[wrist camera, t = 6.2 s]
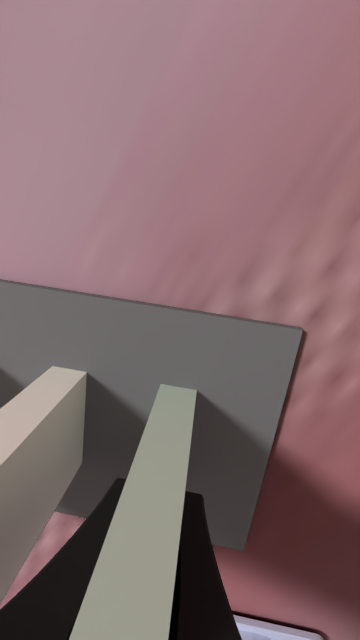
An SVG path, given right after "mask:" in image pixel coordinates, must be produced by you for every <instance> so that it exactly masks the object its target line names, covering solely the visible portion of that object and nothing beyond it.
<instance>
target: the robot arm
mask: <svg viewBox="0 0 360 640" xmlns="http://www.w3.org/2000/svg"><path fill="white" fill-rule="evenodd" d="M125 482H126V479H123V478H117V479H115V480H114V482H113V484H112V485H111V487H110V488H109V490H108V491H107V493H106V494H105V495H104V497H103V498H102V500H101V501H100V502H99V504H98V505H97V506H96V508H95V509H94V510H93V511H92V513H91V514H90V515H89V516H88V518H87V519H86V520H85V521H84V523H83V524H82V525H81V526H80V527H79V529H78V530H77V531H76V532H75V534H74V535H73V536H72V537H71V538H70V539H69V540H68V542H67V543H66V544H65V545H64V546H63V547H62V548H61V549H60V550H59V552H58V553H57V554H56V555H55V556H54V557H53V558H52V559H51V560H50V561H49V563H48V564H47V565H46V566H45V567H44V568H43V569H42V570H41V571H40V572H39V573H38V574H37V575H36V576H35V577H34V578H33V579H32V580H31V581H30V582H29V583H28V584H27V585H26V586H25V587H24V588H23V589H22V590H21V591H20V592H19V593H18V594H17V595H16V596H15V597H13V598H12V599H11V600H10V601H9V602H8V603H7V604H6V605H5V606H4V607H3V608H2V609H0V640H69V638H70V636H71V633H72V630H73V627H74V624H75V622H76V619H77V616H78V613H79V610H80V608H81V605H82V602H83V599H84V597H85V594H86V591H87V588H88V585H89V583H90V580H91V577H92V574H93V571H94V569H95V566H96V563H97V560H98V558H99V555H100V552H101V549H102V546H103V544H104V541H105V538H106V535H107V532H108V530H109V527H110V524H111V521H112V519H113V516H114V513H115V510H116V507H117V505H118V502H119V499H120V496H121V493H122V491H123V488H124V485H125ZM168 640H323V638H322V637H321V636H320V635H319V634H316V633H312V632H308V631H303V630H299V629H295V628H290V627H286V626H281V625H277V624H272V623H268V622H264V621H259V620H255V619H250V618H246V617H242V616H237V615H233V613H232V611H231V608H230V605H229V602H228V599H227V595H226V592H225V589H224V586H223V583H222V580H221V576H220V573H219V569H218V566H217V562H216V558H215V555H214V551H213V547H212V543H211V539H210V534H209V530H208V525H207V520H206V514H205V507H204V497H203V496H202V495H201V494H198V493H193V492H188V491H185V497H184V506H183V515H182V524H181V532H180V541H179V550H178V558H177V567H176V576H175V585H174V593H173V602H172V611H171V620H170V628H169V637H168Z"/></svg>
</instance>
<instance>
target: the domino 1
mask: <svg viewBox="0 0 360 640" xmlns="http://www.w3.org/2000/svg"><path fill="white" fill-rule="evenodd" d="M86 378H87V372H83V371H78V370H72V369H67V368H61V367H55V366H52V367H51V368H50V369H48V370H47V371H46V372H45V373H43V374H42V375H41V376H40V377H39V378H37V379H36V380H35V381H34V382H32V383H31V384H30V385H29V386H28V387H26V388H25V389H24V390H23V391H21V392H20V393H19V394H18V395H17V396H15V397H14V398H13V399H12V400H10V401H9V402H8V403H7V404H6V405H4V406H3V407H2V408H1V409H0V604H1V602H2V601H3V599H4V597H5V595H6V594H7V592H8V590H9V588H10V587H11V585H12V583H13V582H14V580H15V578H16V576H17V575H18V573H19V571H20V569H21V568H22V566H23V564H24V562H25V561H26V559H27V557H28V556H29V554H30V552H31V550H32V549H33V547H34V545H35V543H36V542H37V540H38V538H39V537H40V535H41V533H42V531H43V530H44V528H45V526H46V524H47V523H48V521H49V519H50V518H51V516H52V514H53V512H54V511H55V509H56V507H57V505H58V504H59V502H60V500H61V498H62V497H63V495H64V493H65V492H66V490H67V488H68V486H69V485H70V483H71V481H72V479H73V478H74V476H75V474H76V473H77V471H78V469H79V467H80V466H81V464H82V456H83V436H84V417H85V397H86Z"/></svg>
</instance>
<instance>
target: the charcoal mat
mask: <svg viewBox="0 0 360 640" xmlns="http://www.w3.org/2000/svg"><path fill="white" fill-rule="evenodd" d="M302 332H303V330H302V329H301V328H300V327H295V326H289V325H282V324H276V323H270V322H264V321H257V320H251V319H245V318H239V317H232V316H226V315H220V314H214V313H207V312H201V311H195V310H189V309H182V308H176V307H170V306H164V305H157V304H151V303H145V302H139V301H133V300H126V299H120V298H114V297H108V296H101V295H95V294H89V293H83V292H76V291H70V290H64V289H58V288H51V287H45V286H39V285H33V284H26V283H20V282H14V281H8V280H1V279H0V409H1V408H2V407H3V406H4V405H6V404H7V403H8V402H9V401H10V400H12V399H13V398H14V397H15V396H17V395H18V394H19V393H20V392H21V391H23V390H24V389H25V388H26V387H28V386H29V385H30V384H31V383H32V382H34V381H35V380H36V379H37V378H39V377H40V376H41V375H42V374H43V373H45V372H46V371H47V370H48V369H50V368H51V367H52V366H55V367H61V368H67V369H72V370H78V371H83V372H87V378H86V397H85V417H84V436H83V456H82V464H81V466H80V467H79V469H78V471H77V473H76V474H75V476H74V478H73V479H72V481H71V483H70V485H69V486H68V488H67V490H66V492H65V493H64V495H63V497H62V498H61V500H60V502H59V504H58V505H57V507H56V509H55V511H56V512H60V513H65V514H70V515H75V516H79V517H84V518H88V516H89V515H90V514H91V513H92V511H93V510H94V509H95V508H96V506H97V505H98V504H99V502H100V501H101V500H102V498H103V497H104V495H105V494H106V493H107V491H108V490H109V488H110V487H111V485H112V484H113V482H114V480H115V479H117V478H123V479H127V477H128V474H129V471H130V468H131V466H132V463H133V460H134V457H135V454H136V452H137V449H138V446H139V443H140V440H141V438H142V435H143V432H144V429H145V427H146V424H147V421H148V418H149V415H150V413H151V410H152V407H153V404H154V401H155V399H156V396H157V393H158V390H159V388H160V385H161V384H164V385H170V386H176V387H181V388H187V389H193V390H197V393H196V401H195V410H194V419H193V427H192V436H191V445H190V454H189V462H188V471H187V480H186V489H185V491H188V492H193V493H198V494H201V495H202V496H203V497H204V507H205V514H206V520H207V525H208V530H209V534H210V539H211V543H212V545H216V546H221V547H226V548H230V549H235V550H240V551H244V548H245V545H246V541H247V537H248V533H249V530H250V526H251V522H252V518H253V515H254V511H255V507H256V504H257V500H258V496H259V492H260V489H261V485H262V481H263V477H264V474H265V470H266V466H267V463H268V459H269V455H270V451H271V448H272V444H273V440H274V436H275V433H276V429H277V425H278V422H279V418H280V414H281V410H282V407H283V403H284V399H285V395H286V392H287V388H288V384H289V381H290V377H291V373H292V369H293V366H294V362H295V358H296V354H297V351H298V347H299V343H300V340H301V336H302Z"/></svg>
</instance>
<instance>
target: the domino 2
mask: <svg viewBox="0 0 360 640" xmlns="http://www.w3.org/2000/svg"><path fill="white" fill-rule="evenodd" d="M196 393H197V390H193V389H187V388H181V387H176V386H170V385H164V384H161V385H160V388H159V390H158V393H157V396H156V399H155V401H154V404H153V407H152V410H151V413H150V415H149V418H148V421H147V424H146V427H145V429H144V432H143V435H142V438H141V440H140V443H139V446H138V449H137V452H136V454H135V457H134V460H133V463H132V466H131V468H130V471H129V474H128V477H127V479H126V482H125V485H124V488H123V491H122V493H121V496H120V499H119V502H118V505H117V507H116V510H115V513H114V516H113V519H112V521H111V524H110V527H109V530H108V532H107V535H106V538H105V541H104V544H103V546H102V549H101V552H100V555H99V558H98V560H97V563H96V566H95V569H94V571H93V574H92V577H91V580H90V583H89V585H88V588H87V591H86V594H85V597H84V599H83V602H82V605H81V608H80V610H79V613H78V616H77V619H76V622H75V624H74V627H73V630H72V633H71V636H70V638H69V640H168V637H169V628H170V620H171V611H172V602H173V593H174V585H175V576H176V567H177V558H178V550H179V541H180V532H181V524H182V515H183V506H184V497H185V489H186V480H187V471H188V462H189V454H190V445H191V436H192V427H193V419H194V410H195V401H196Z"/></svg>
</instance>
